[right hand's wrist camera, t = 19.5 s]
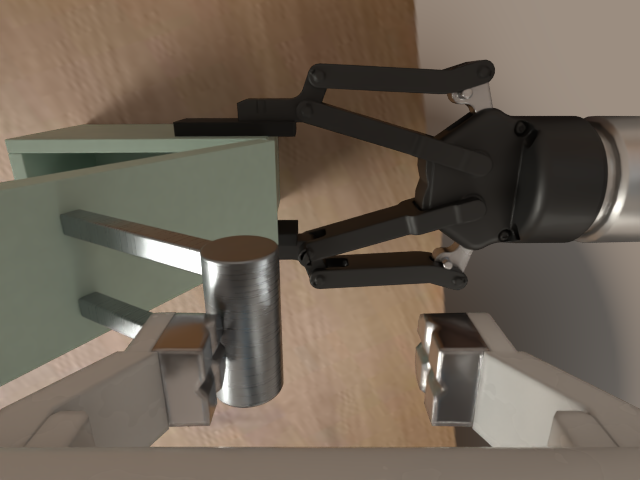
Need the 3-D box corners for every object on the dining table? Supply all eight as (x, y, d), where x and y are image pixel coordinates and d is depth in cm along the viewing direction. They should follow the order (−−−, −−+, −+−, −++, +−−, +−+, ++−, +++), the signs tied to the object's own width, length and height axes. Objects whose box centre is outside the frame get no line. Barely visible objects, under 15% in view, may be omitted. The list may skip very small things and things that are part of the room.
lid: (-36, 383, 13) (173, 535, 9) (-99, 198, 11) (131, 274, 7) (262, 241, 24) (416, 275, 20) (257, 138, 23) (427, 152, 18)
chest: (98, 202, 33) (29, 241, 24) (84, 124, 31) (4, 139, 23) (280, 200, 33) (271, 239, 25) (277, 123, 31) (267, 138, 23)
